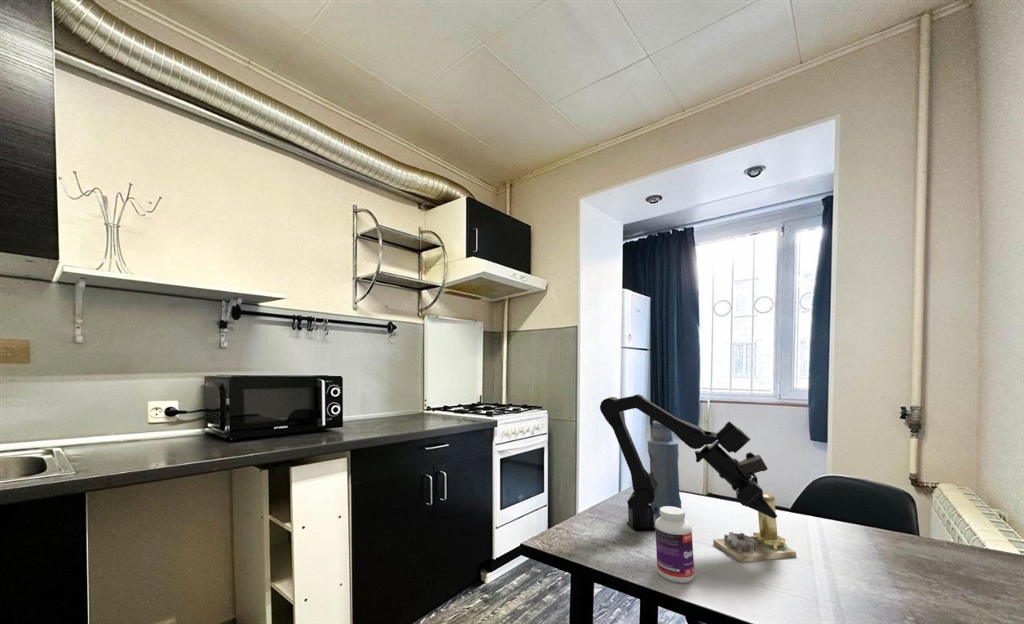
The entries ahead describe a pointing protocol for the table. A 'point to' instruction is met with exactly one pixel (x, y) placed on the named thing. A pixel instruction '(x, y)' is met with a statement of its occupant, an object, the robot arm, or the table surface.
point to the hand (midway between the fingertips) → (773, 511)
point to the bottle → (664, 467)
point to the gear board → (750, 548)
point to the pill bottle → (674, 545)
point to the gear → (768, 528)
